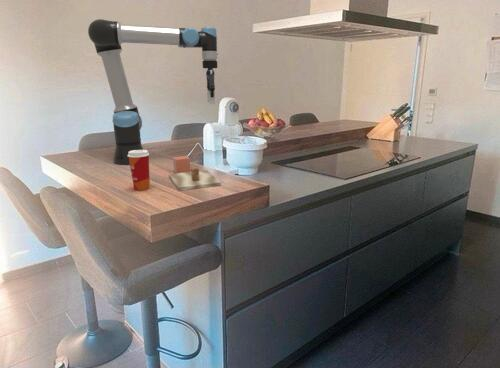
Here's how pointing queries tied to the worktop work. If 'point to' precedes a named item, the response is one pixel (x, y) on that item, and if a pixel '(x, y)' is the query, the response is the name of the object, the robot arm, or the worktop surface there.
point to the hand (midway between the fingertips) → (211, 103)
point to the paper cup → (139, 169)
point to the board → (189, 184)
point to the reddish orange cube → (181, 164)
